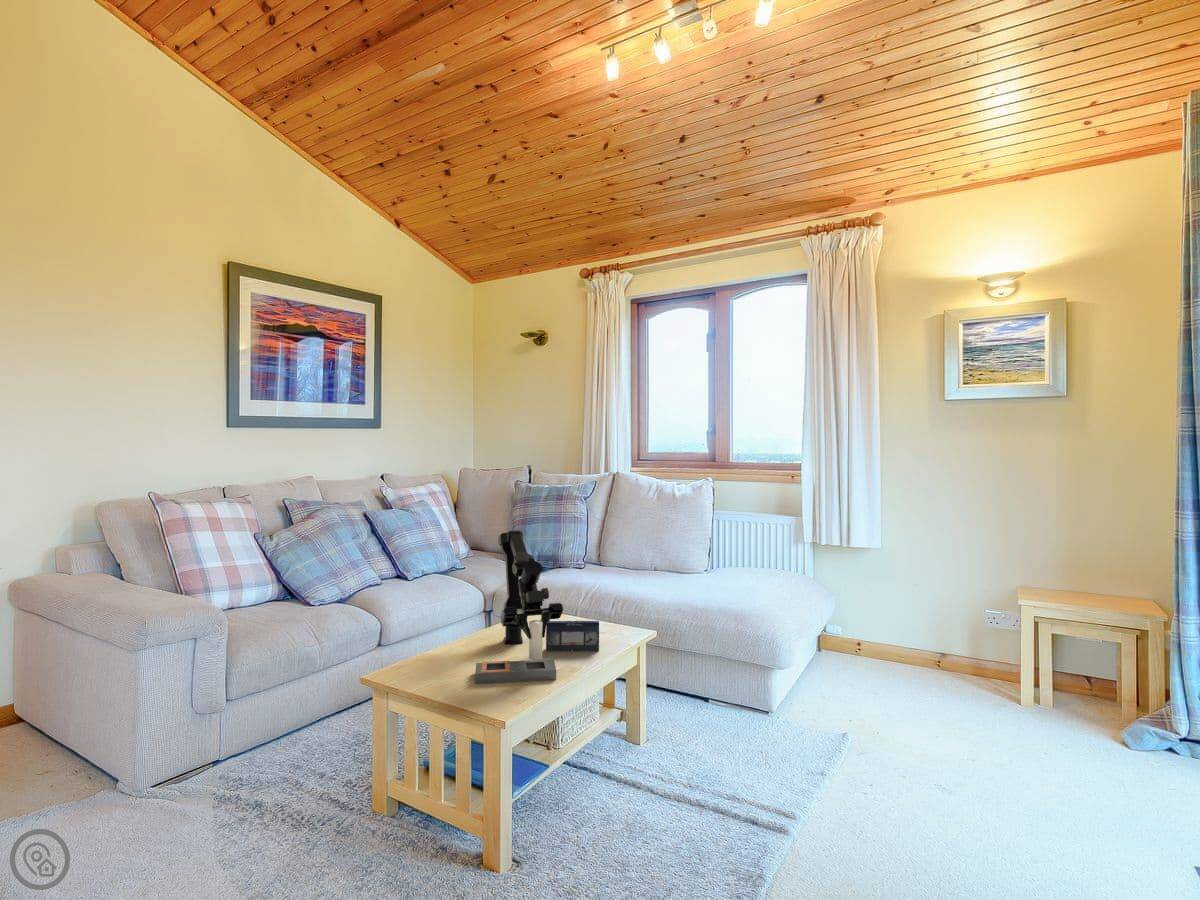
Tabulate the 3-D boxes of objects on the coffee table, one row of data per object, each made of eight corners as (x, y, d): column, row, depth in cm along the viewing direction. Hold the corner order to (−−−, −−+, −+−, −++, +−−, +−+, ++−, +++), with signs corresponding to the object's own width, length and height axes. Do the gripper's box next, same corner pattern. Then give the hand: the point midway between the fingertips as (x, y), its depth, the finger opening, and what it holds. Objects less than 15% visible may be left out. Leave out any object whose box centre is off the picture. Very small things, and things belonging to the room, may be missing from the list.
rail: (476, 672, 188) (476, 662, 188) (553, 668, 192) (553, 658, 192) (475, 684, 179) (475, 672, 179) (556, 679, 183) (556, 668, 183)
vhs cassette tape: (545, 651, 208) (545, 622, 208) (546, 648, 211) (546, 620, 211) (599, 652, 208) (599, 623, 208) (599, 649, 211) (599, 620, 211)
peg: (528, 655, 188) (529, 620, 188) (541, 655, 189) (542, 619, 189) (529, 660, 184) (529, 624, 184) (542, 659, 185) (542, 623, 185)
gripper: (503, 581, 187) (510, 627, 176) (562, 577, 193) (571, 621, 183) (498, 600, 194) (505, 645, 184) (555, 596, 201) (564, 639, 190)
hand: (536, 637), depth 185 cm, fingers closed on peg, 4 cm apart
